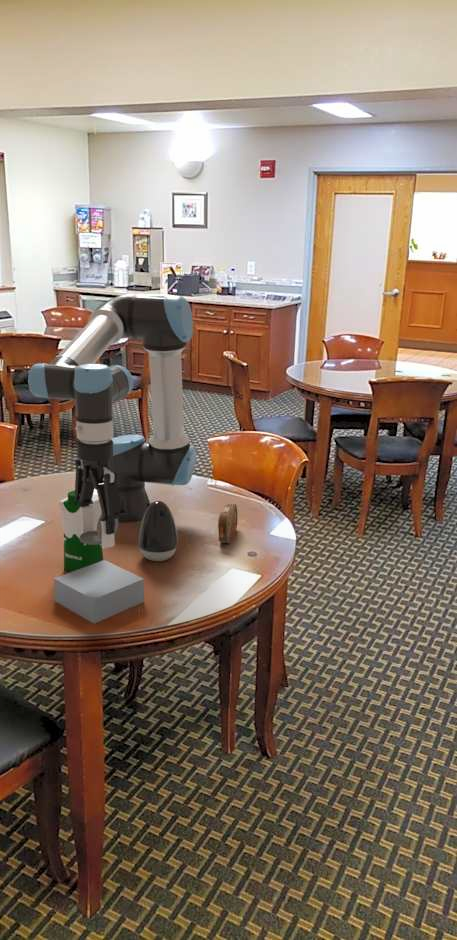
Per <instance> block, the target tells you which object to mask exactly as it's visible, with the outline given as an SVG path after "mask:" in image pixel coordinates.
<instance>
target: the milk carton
mask: <svg viewBox="0 0 457 940" xmlns="http://www.w3.org/2000/svg"><path fill="white" fill-rule="evenodd" d="M79 495H80V494H79ZM74 497H75V490H71V491H69V492H68V493H67V497H65V498H63V499H61V500H59V501H58V503H59V507H60V511H61V515H62V532H63V533H62V536H63V570H64V571H68V572H73V571H76V570H78V569H81V568H84V567H87V566H89V565H92V564H95V563H98V562H100V561H103V560H104V553H103V548H102V544H98V545H89V544H84V543H82V542H81V541H80V539H79V537H80V535H81V534H82V532H81V506H79V502H78V501H75V498H74ZM92 501H93V502H94V503H93V502H92V503H93V504H89V505H92V506H93V514H94V531H97V523H98V520H99V518H100V516H101V512H102V510H101V506H100V502H99V497H98V495H95V494H93V496H92Z"/></svg>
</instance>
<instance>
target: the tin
mask: <svg viewBox="0 0 457 940" xmlns="http://www.w3.org/2000/svg"><path fill="white" fill-rule="evenodd" d="M217 521H218V522H217V525H218V526H217V527H218V540H219V541H218V542H220V543H221V544H231V543H232V541H233V538H234V537H235V534H236V532H237V529H238V508H237V505H236V503H231V504H230V503H227V504H225V506H224V507H223V509H222V510H221V512H220V514H219V517H218V520H217Z"/></svg>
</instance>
